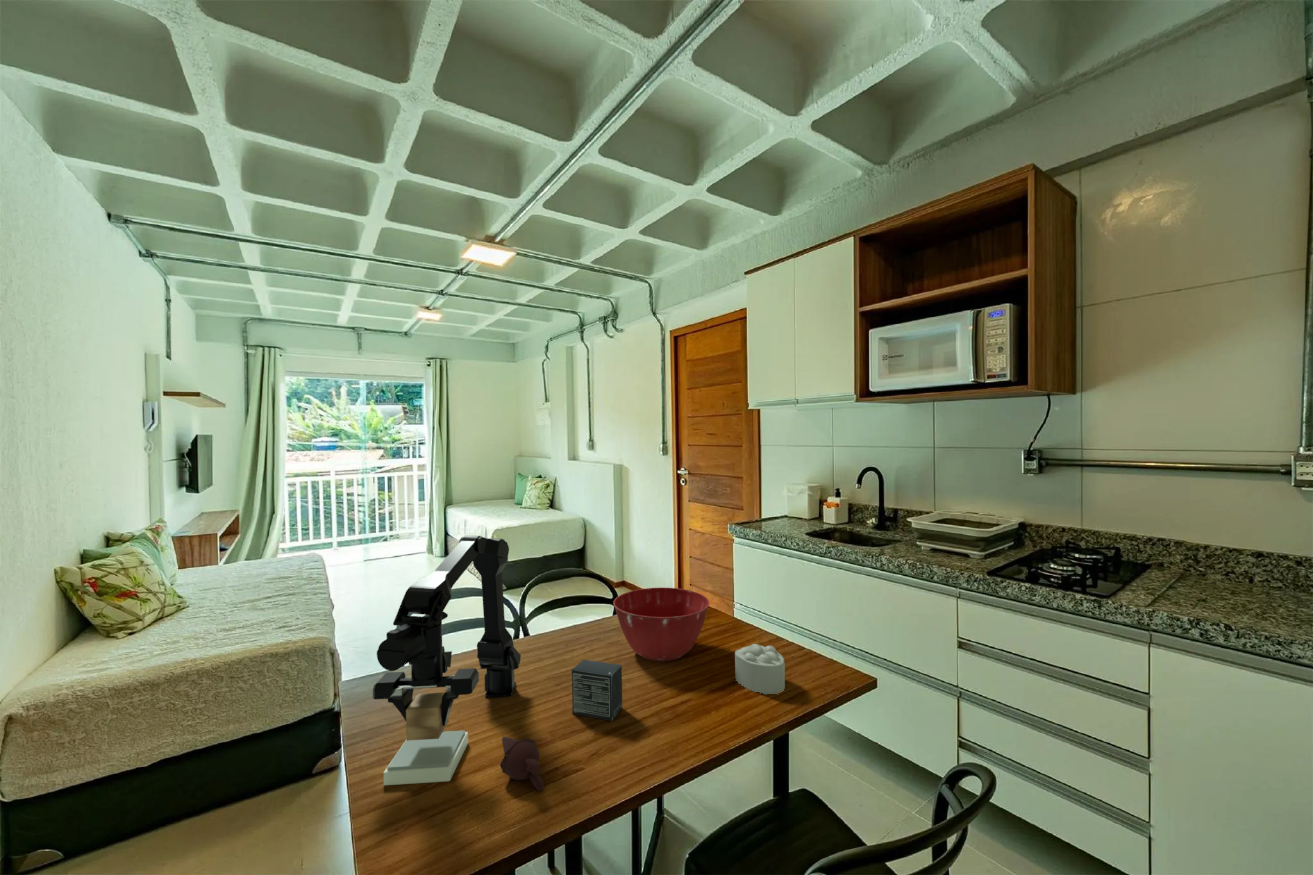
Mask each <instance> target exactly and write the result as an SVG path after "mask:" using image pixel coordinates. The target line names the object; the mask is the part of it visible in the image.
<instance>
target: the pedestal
mask: <svg viewBox="0 0 1313 875" xmlns="http://www.w3.org/2000/svg"><path fill="white" fill-rule="evenodd" d="M468 744H469V732H468V731H465V729H464V730H446V731H443V732H442V734H441V735H440V737H439V739H426V740H409V741H407V738H406V739H405V741H404V742H403V744H402V745H401V747H400V748H399V749H398V751H397V752H396V753H395V755H394V757H393V758H392V759H391V760H390V763H389V764H388V765H387V767H386V768H385V770H384V771H383V786H395V785H396V786H397V785H409V784H411V785H412V784H423V783H424V784H425V783H426V784H427V783H439V782H450V781H451V779H452V777H453V775H454V773H455V772H456V768H457V767H458V765H459V763H460V760H461V759H462V756H463V754H464V753H465V751H466V748H467V747H468Z"/></svg>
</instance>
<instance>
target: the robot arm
mask: <svg viewBox="0 0 1313 875" xmlns="http://www.w3.org/2000/svg"><path fill="white" fill-rule="evenodd" d="M509 552H510V546H509V544H508V542H507V541H506V540H505V539H504V538H491V537H490V538H487V537H484V536H482V535H464V536H462V537H460V539H459V541H458V544H457V545H456V546H454V548H453V550H451V551H450V553H449V554H448V555H447V556H446V557H445V558H444V559H443V560H442V562H441V563H440V564H439V565H438V566H437V567H436V568H435V570H433V571H432V572H431V573H429V574H427V575H425V576H423V577H420V578H419V579H418V580H416V581H415V582H413V584H411V585H410V586H409V587H408V588H407V589H406V591H405V593H404V595H403V598H402V600H401V602H400V605H399V608H398V610H397V612H396V616H395V618H394V620H393V623H392V625H393V626H397V628H395V629H391V630H389V631H387V632H386V639H385V640H383V641H381V643H380V644H379V645H378V648H377V650H376V659H377V661H378V664H379V665H380V666H381V667H382V668H383V669H385V670H386V671H387V672H385V673H384V674H383V675H382V676H381V677H380V679H378V680H377V682H376V683H374V685H373V688H372V699H373V700H387V703H388V704H393V705H394V707H395V708H396V710H398V712H399V713H400V714H401V716H402V717H403V719H404V721H405V722H406V709H407V708H408V706H409V705H410V704H411V703H412V701H413V700H414V698H413V695H414V689H430V688H431V689H433V688H445V692H444V693H445V694H444V695H443V697H442V724H443V726H445V725H446V723H447V720H448V716H450V713H451V709H452V707H453V703H454V701H455V700H456V699H458V698H459V697H460V696H462V695H463V696H465V695H467V696H468V695H471V694H473V692H474V690H475V689H476V687H477V685H478V683H479V682H480V676H479V674H480V672H479V671H478V670H477V668H476V667H475V668H474V667H472V668H471V667H470V668H459V669H458V670H457V671H456V672H455V674H453V675H446V676H445V675H444V674H446V673H447V672H448V668H451V667H452V666H451V665H452V655H453V651H451V650H450V651H448V650H447V651H445V650H446V649H445V646H443V620H445V619H447V618H448V616H449V615H448V613H446V612H445V609H446V607H447V605H448V603H449V602H450V600H451V599H452V589H453V587H454V585H455V584H456V583H457V581H458V580H459V579H460V577H461V576H462V575H463V574H464V572H466V571H467V569H468V567H469V566H470V565H471V564H472V563H473V567H474V568H475V570H476V571H477V572H478V574H479V576H480V580H481V581H480V582H481V596H482V611H483V612H482V614H483V627H484V628H483V629H484V633H483V635H482V637H481V638H480V641H478V642H477V644H476V649H477V655H476V656H477V657H476V659H478V664H479V666H480V670H486V672H485V675H484V692H485V694H484V697H485V698H496V697H511V696H512V695H513V693H514V690H515V688H516V685H517V682H516V681H515V670H517V669H519V666H520V663H521V657H522V656H521V655H522V654H520V652H519V651H518V650H517V649H516V648H515V646H514V641H513V636H512V635H511V634H510V632H509V630H508V629H507V628H506V620H505V619H506V618H505V605H504V604H505V603H504V586H503V571H504V569H505V567H506V565H507V564H508V561H509ZM410 614H411V615H410ZM412 614H414V615H412ZM415 615H416V616H415ZM417 615H423V616H417ZM406 665H409V666H410V673H411V677H407V678H406V673H405V672H404V671H398V670H399V669H401V668H403V667H404V666H406ZM388 671H389V672H388ZM447 724H448V723H447ZM446 726H447V725H446Z"/></svg>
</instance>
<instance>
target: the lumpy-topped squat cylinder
mask: <svg viewBox="0 0 1313 875" xmlns="http://www.w3.org/2000/svg"><path fill="white" fill-rule="evenodd" d="M734 662H735V663H734V667H735V668H734V669H735V670H734V672H735V675H734V677H735V679H736V680H735V679H734V680H735V682H736V681H737V682H738V683H737V682H736V683H737V684H739V685H740V684H741V687H743V686H744V687H743V688H745V687H746V688H745V689H747V688H748V689H749V690H748V689H747V690H748V691H751V690H752V691H751V692H753V691H754V692H753V693H756V692H760V693H759V694H761V693H763V695H767V694H777V695H779V694H778V693H780V692H782V691H784V692H785V690H784V689H786V679H785V678H786V677H785V676H786V673H785V672H786V671H785V669H786V668H785V665H786V664H785V659H784V657H783V655H782V654H781V653H779V652H778V651H777V649H776V648H775V647H774V646H773V645H766V646H763V645H761V644H758V643H753V644H751V645H749V646H744V647H741V648H740V649H736V650H735V652H734Z"/></svg>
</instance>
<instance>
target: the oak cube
mask: <svg viewBox="0 0 1313 875" xmlns="http://www.w3.org/2000/svg"><path fill="white" fill-rule="evenodd" d="M444 694H445V692H430V693H429V692H428V693H417V694H416V696H415V697H414V698H413V701H412V703H411V704H410V705H409V706H408V708H407V709H406V721H405V723H406V724H405V726H406V728H405V732H406V739H407V741H409V740H426V739H439V737H440V735H441V734H442V732H444V730H445V729H446V727H447V725H448V723H449V722H450V721H449V716H450V715H449V716H448V720H447V723H446V725H445V726H443V724H442V697H443V695H444Z"/></svg>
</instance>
